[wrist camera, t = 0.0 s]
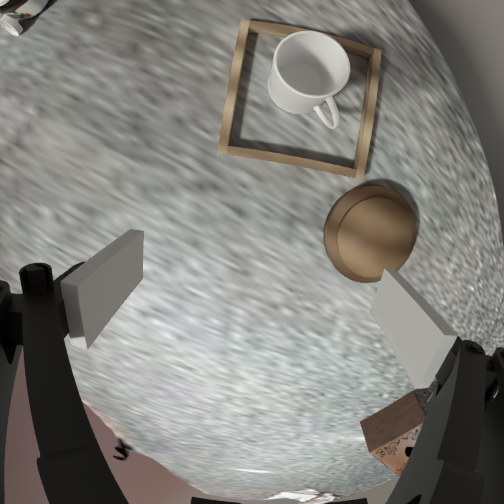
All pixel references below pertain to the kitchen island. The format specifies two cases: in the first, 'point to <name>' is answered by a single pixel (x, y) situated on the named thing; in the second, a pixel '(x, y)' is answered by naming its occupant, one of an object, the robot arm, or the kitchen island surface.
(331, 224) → the brown wooden saucer
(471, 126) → the kitchen island surface
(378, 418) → the tissue box cover
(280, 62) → the mug
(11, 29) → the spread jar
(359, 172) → the square wooden frame
